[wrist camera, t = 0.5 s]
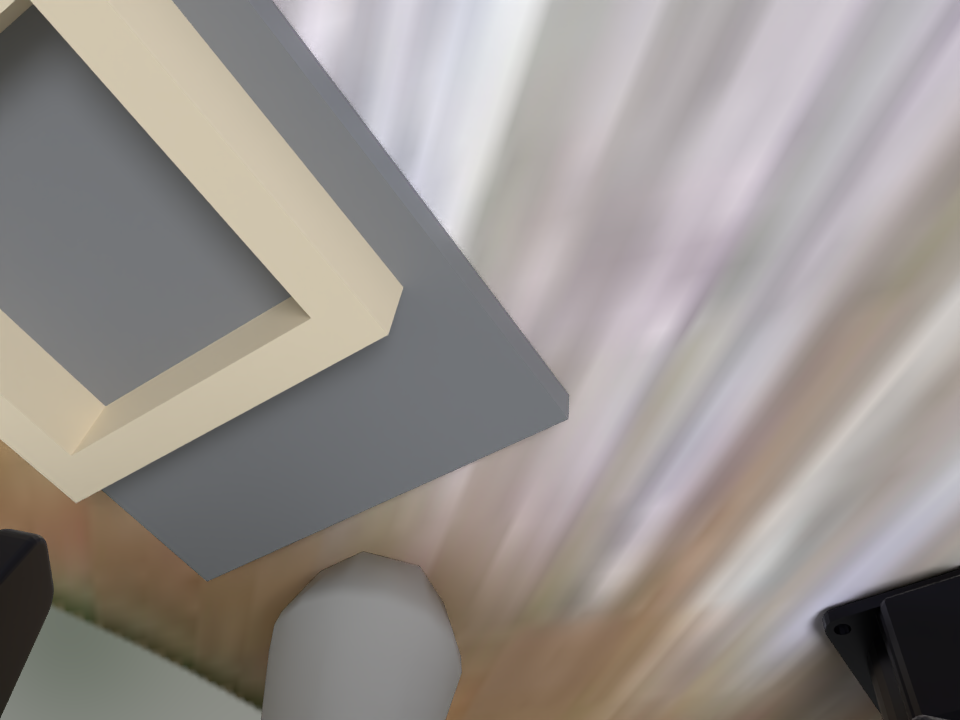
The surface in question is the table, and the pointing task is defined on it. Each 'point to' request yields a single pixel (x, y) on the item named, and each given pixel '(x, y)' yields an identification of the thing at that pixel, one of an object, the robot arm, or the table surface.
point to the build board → (229, 284)
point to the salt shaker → (363, 647)
